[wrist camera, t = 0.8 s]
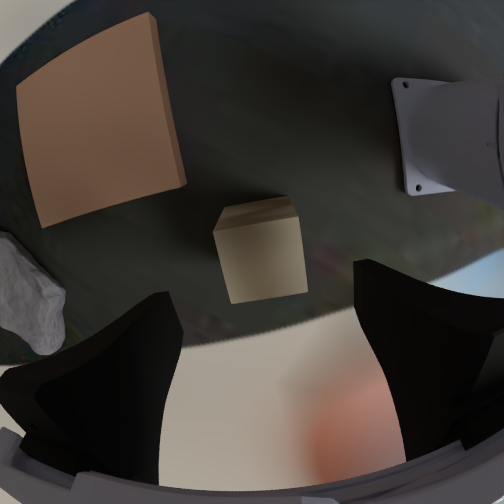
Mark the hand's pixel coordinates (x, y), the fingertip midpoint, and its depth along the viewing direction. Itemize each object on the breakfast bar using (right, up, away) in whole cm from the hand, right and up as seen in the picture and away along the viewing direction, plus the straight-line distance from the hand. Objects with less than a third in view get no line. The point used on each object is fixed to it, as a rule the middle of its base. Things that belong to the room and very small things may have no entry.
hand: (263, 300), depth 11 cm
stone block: (-23, -1, +10) cm, 25 cm away
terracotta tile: (-11, +11, +5) cm, 17 cm away
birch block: (0, +3, +8) cm, 8 cm away
